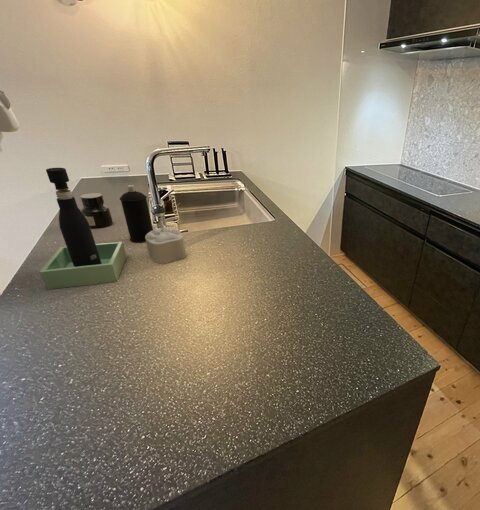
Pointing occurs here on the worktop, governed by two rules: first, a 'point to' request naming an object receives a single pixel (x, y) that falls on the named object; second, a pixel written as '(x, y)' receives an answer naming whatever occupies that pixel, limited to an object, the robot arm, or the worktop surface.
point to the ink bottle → (96, 210)
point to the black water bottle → (73, 222)
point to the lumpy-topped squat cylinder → (165, 245)
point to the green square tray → (84, 267)
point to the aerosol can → (136, 214)
